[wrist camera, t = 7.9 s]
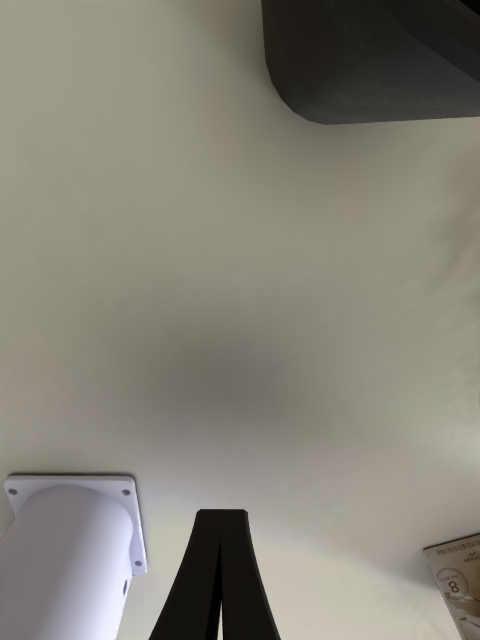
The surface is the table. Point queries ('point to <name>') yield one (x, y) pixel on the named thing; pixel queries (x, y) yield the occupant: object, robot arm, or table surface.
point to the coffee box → (459, 582)
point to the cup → (374, 58)
